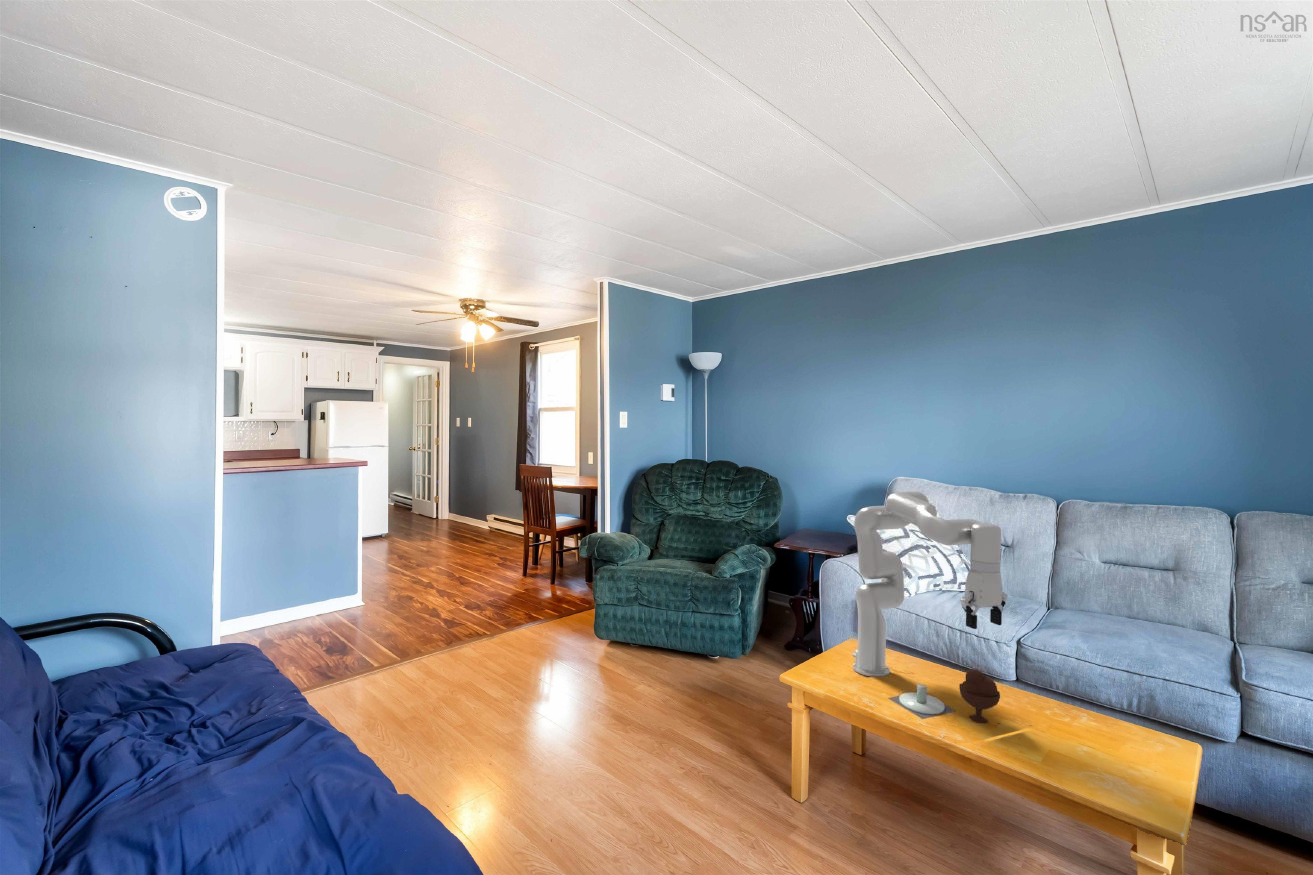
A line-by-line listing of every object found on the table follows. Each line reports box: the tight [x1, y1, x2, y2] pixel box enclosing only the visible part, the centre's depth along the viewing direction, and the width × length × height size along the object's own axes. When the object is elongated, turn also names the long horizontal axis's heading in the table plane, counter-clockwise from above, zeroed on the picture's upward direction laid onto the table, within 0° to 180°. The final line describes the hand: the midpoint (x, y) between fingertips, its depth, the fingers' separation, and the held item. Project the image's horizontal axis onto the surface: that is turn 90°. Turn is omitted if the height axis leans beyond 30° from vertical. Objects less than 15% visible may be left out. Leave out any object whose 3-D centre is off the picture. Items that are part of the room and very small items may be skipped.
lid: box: [899, 683, 945, 715], centre depth 182 cm, size 13×13×6 cm
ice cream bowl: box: [958, 668, 1001, 725], centre depth 174 cm, size 11×11×15 cm
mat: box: [887, 691, 957, 720], centre depth 182 cm, size 14×14×1 cm
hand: (983, 625), depth 167 cm, fingers open, 9 cm apart
